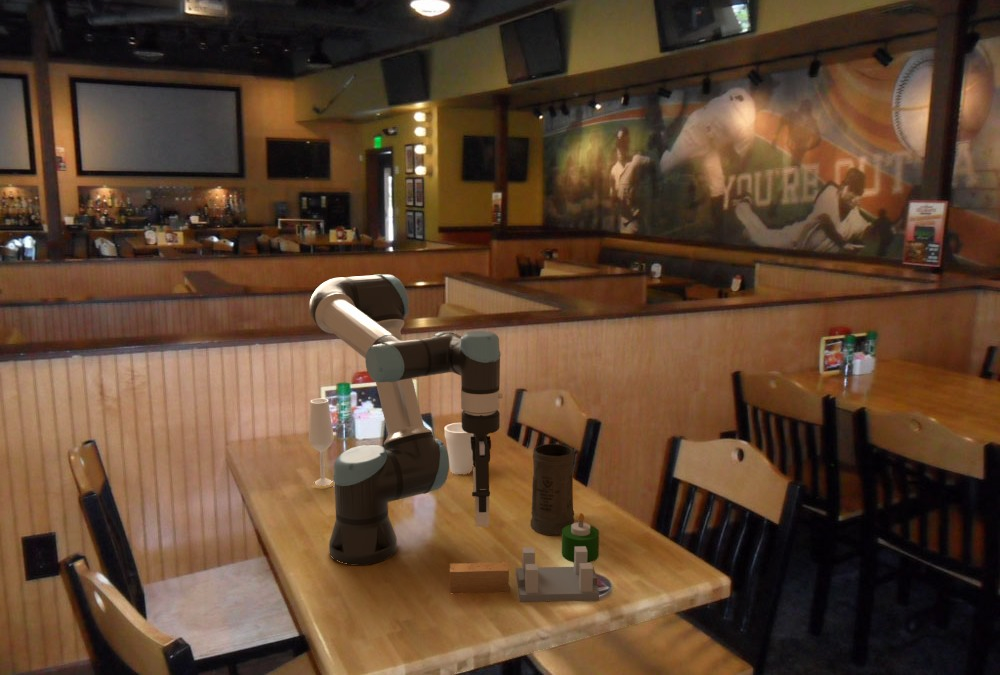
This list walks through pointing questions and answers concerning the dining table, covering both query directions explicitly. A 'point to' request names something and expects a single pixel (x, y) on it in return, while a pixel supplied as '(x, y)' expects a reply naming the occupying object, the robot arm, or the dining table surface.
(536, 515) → the beer stein
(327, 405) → the champagne flute
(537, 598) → the jig
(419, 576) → the dining table surface
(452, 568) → the block
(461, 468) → the foam cup
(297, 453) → the dining table surface
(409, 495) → the robot arm
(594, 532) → the candle
